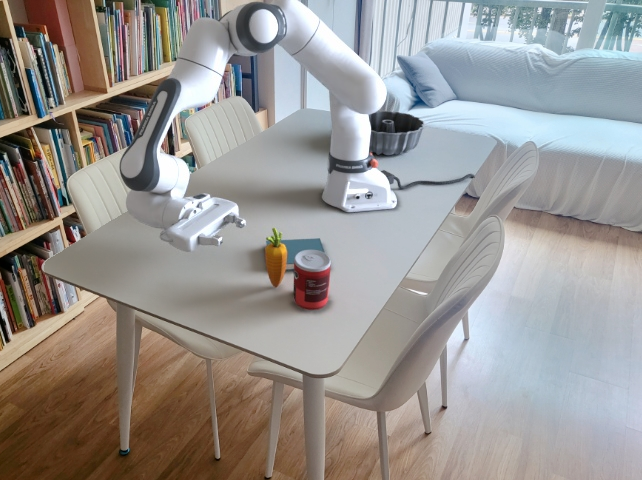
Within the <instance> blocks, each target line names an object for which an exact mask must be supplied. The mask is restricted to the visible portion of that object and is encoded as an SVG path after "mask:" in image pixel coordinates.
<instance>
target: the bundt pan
mask: <svg viewBox="0 0 642 480" xmlns="http://www.w3.org/2000/svg"><path fill="white" fill-rule="evenodd" d="M368 117H369V122H370V125H371V135H370V144H369V153H375V154H376V155H378V156H379V155H381V154H383V155H385V156H391V155H394V156H400V155H401V154H407V153H408V152H410V151H412V150H414V149H415V148H416V147H417V146H418V145H419V143H420V138H421V135H422V133H423V130H424V129H425V121H423V120H422V119H420V117H418V116H414V115H413V114H410V113H405V112H400V111H391V110H378V111H377V112H375V113H373V114H369V115H368Z"/></svg>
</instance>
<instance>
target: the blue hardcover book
mask: <svg viewBox="0 0 642 480" xmlns="http://www.w3.org/2000/svg"><path fill="white" fill-rule="evenodd" d="M270 243H271V242H270V241H269V240H265V244H266V246H267V245H269V244H270ZM280 243H282V244H284V245H285V247H286V249H287V262H286V269H285V272H290V271H292V272H294V259H295V256H296V254H297V253H299V252H301V251H304V250H318V251H321V252H324V253H326V252H325V249H324V246H323V243H322V240H321V237H320V238H319V237H318V238H299V239H298V238H297V239H296V238H295V239H281V241H280Z"/></svg>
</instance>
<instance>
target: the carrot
mask: <svg viewBox="0 0 642 480" xmlns="http://www.w3.org/2000/svg"><path fill="white" fill-rule="evenodd" d="M271 230H272V232H273V235H270V237H269V236H266V237H265V241H270V242H271V243H270V244H269V245H267V244H266V246H265V248H264V252H265V253H264V254H265V255H264V256H265V257H264V258H265V266H266V271H267V276H268V279H269V281H270V283H271V285H272V287H274V288H278V287H279V286H280V284H281V283H282V281H283V279H284V276H285V273H286V271H285V269H286V262H287V249H286V247H285V245H284V244H282V243H280V241H281V240H282V237H283V232H281V231H279V232H278V231H277V228H276V227H272V228H271Z"/></svg>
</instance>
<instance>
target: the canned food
mask: <svg viewBox="0 0 642 480" xmlns="http://www.w3.org/2000/svg"><path fill="white" fill-rule="evenodd" d="M324 252H325V251H324ZM324 252H321V251H318V250H304V251H301V252H299V253H297V254H296V256H295V259H294V270H293V291H292V293H293V294H292V295H293V296H292V297H293V300H294V301H293V302H294V303H295V304H296V305H297V306H298V307H299V308H301V309H304V310H308V311H317V310H320V309H323V308H324V307H325V306H326V305H327V303H328V301H329V294H330V293H329V292H330V282H331V281H330V280H331V279H330V278H331V268H332V267H331V265H332V261H331V257H330V255H328V254H327V253H326V252H325V253H324Z"/></svg>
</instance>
